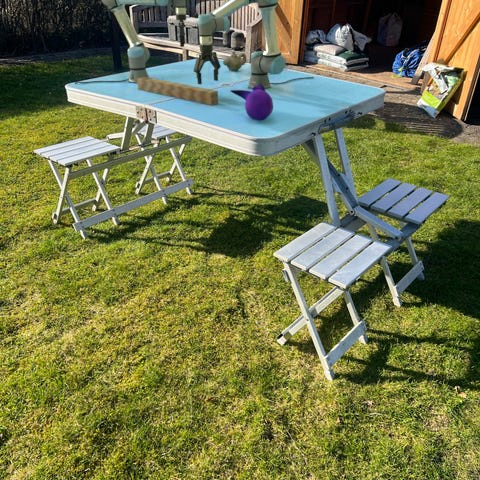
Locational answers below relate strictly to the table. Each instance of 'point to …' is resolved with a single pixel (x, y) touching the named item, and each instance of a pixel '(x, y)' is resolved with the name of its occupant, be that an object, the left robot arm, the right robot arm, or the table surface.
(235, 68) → the teapot
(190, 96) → the block
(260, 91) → the toy
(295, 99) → the table surface
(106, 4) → the left robot arm
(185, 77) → the table surface
